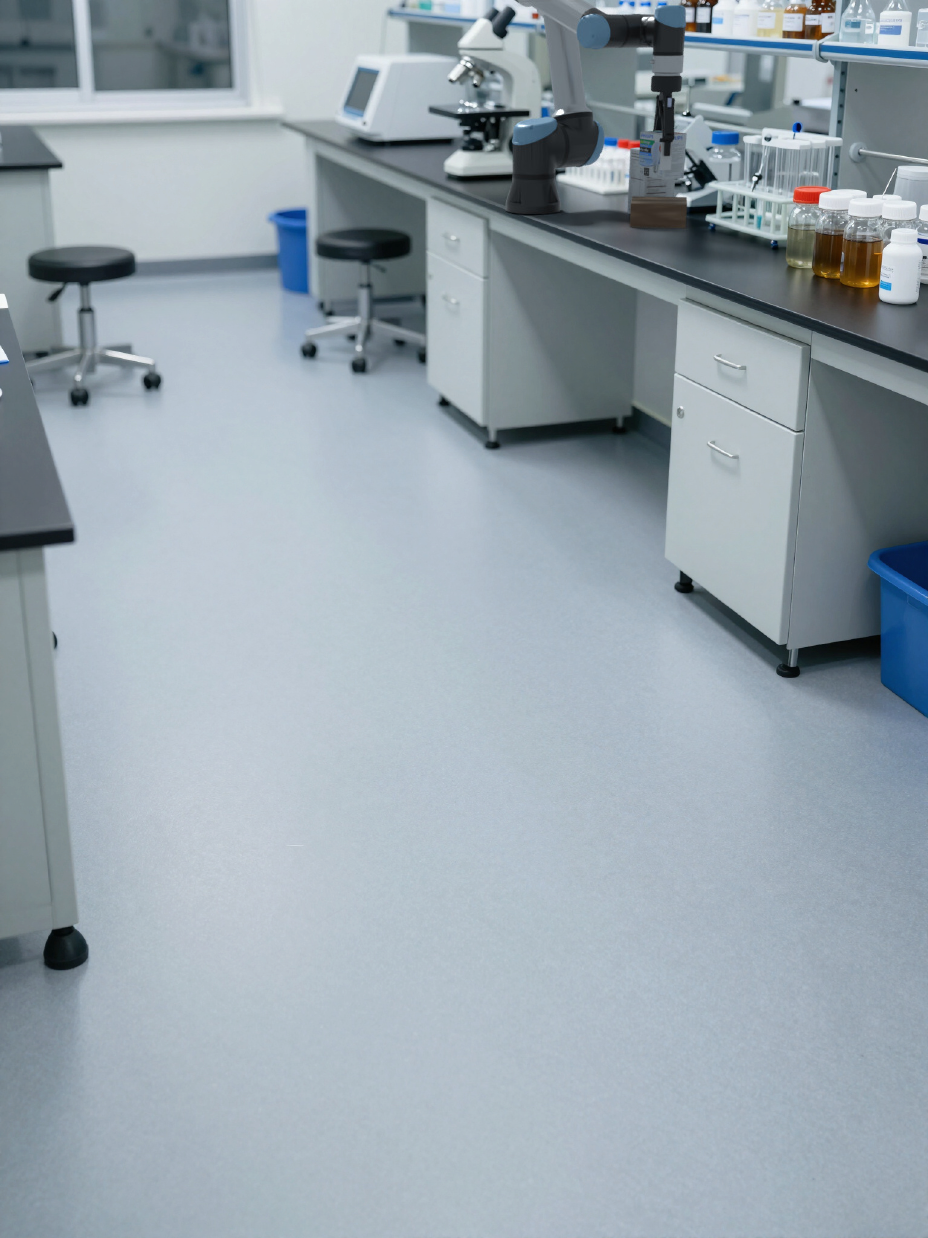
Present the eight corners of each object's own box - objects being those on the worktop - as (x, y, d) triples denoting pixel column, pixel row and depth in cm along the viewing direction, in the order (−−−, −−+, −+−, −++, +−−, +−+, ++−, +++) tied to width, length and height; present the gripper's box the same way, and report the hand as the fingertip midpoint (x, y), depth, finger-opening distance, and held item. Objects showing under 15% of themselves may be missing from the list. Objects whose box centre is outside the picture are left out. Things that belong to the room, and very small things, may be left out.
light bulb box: (637, 175, 325) (639, 130, 320) (657, 174, 328) (659, 129, 323) (664, 179, 317) (667, 133, 312) (684, 178, 320) (687, 132, 315)
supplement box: (673, 215, 338) (678, 148, 331) (643, 217, 335) (647, 150, 328) (656, 211, 346) (660, 145, 339) (626, 213, 343) (629, 146, 336)
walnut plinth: (631, 219, 335) (632, 196, 332) (684, 220, 333) (686, 196, 330) (629, 228, 322) (630, 203, 319) (685, 229, 320) (687, 204, 318)
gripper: (645, 72, 323) (640, 161, 332) (658, 76, 301) (653, 172, 310) (674, 72, 323) (669, 161, 332) (690, 76, 301) (684, 172, 310)
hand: (661, 166), depth 321 cm, fingers closed on light bulb box, 12 cm apart
